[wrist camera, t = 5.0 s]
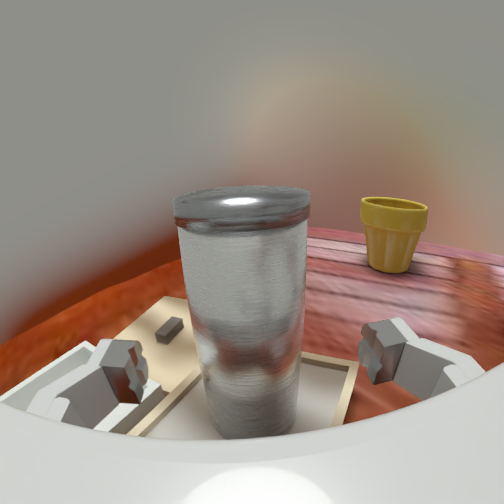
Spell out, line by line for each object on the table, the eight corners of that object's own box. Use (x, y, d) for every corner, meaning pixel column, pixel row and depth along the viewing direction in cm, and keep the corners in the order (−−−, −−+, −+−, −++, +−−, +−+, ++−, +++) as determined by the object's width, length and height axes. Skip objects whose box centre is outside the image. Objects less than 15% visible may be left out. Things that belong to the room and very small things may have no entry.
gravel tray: (232, 362, 22) (228, 333, 21) (351, 391, 18) (359, 362, 17) (127, 475, 11) (107, 451, 10) (285, 552, 7) (289, 545, 6)
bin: (96, 367, 21) (85, 340, 20) (171, 412, 17) (160, 384, 16) (1, 435, 10) (-20, 409, 9) (58, 516, 7) (29, 496, 6)
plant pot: (418, 258, 42) (425, 201, 38) (421, 283, 33) (431, 212, 30) (362, 250, 46) (365, 194, 43) (351, 272, 38) (355, 203, 35)
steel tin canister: (236, 375, 17) (219, 185, 13) (308, 395, 15) (323, 187, 11) (193, 427, 13) (143, 204, 9) (277, 459, 11) (281, 208, 7)
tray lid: (166, 301, 32) (163, 288, 32) (245, 315, 29) (244, 300, 29) (92, 365, 21) (85, 350, 20) (185, 403, 18) (180, 387, 17)
